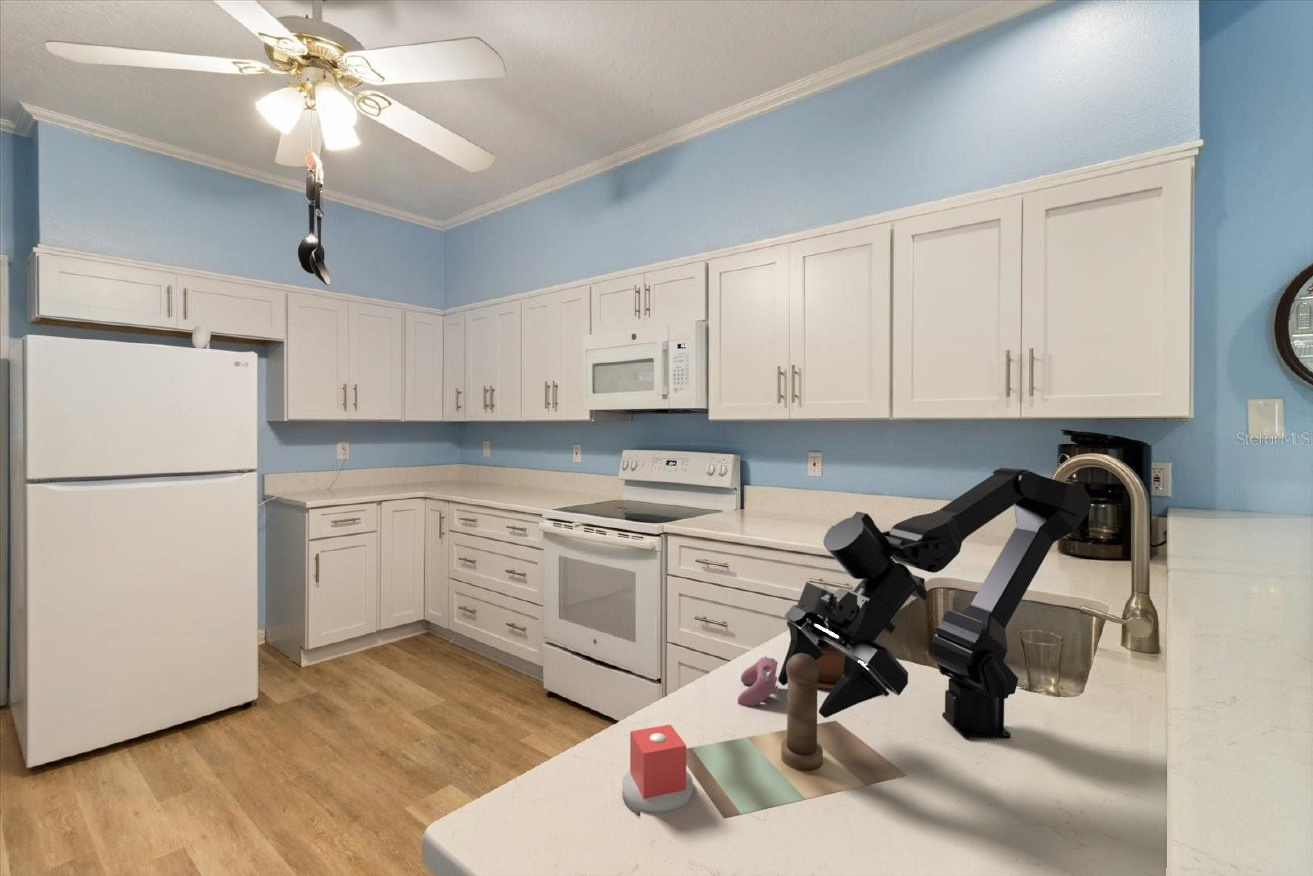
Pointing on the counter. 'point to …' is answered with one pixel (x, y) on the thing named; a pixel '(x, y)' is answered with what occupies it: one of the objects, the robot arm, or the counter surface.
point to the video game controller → (759, 682)
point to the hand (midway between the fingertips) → (799, 698)
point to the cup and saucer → (830, 667)
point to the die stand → (657, 771)
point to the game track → (783, 770)
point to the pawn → (802, 715)
